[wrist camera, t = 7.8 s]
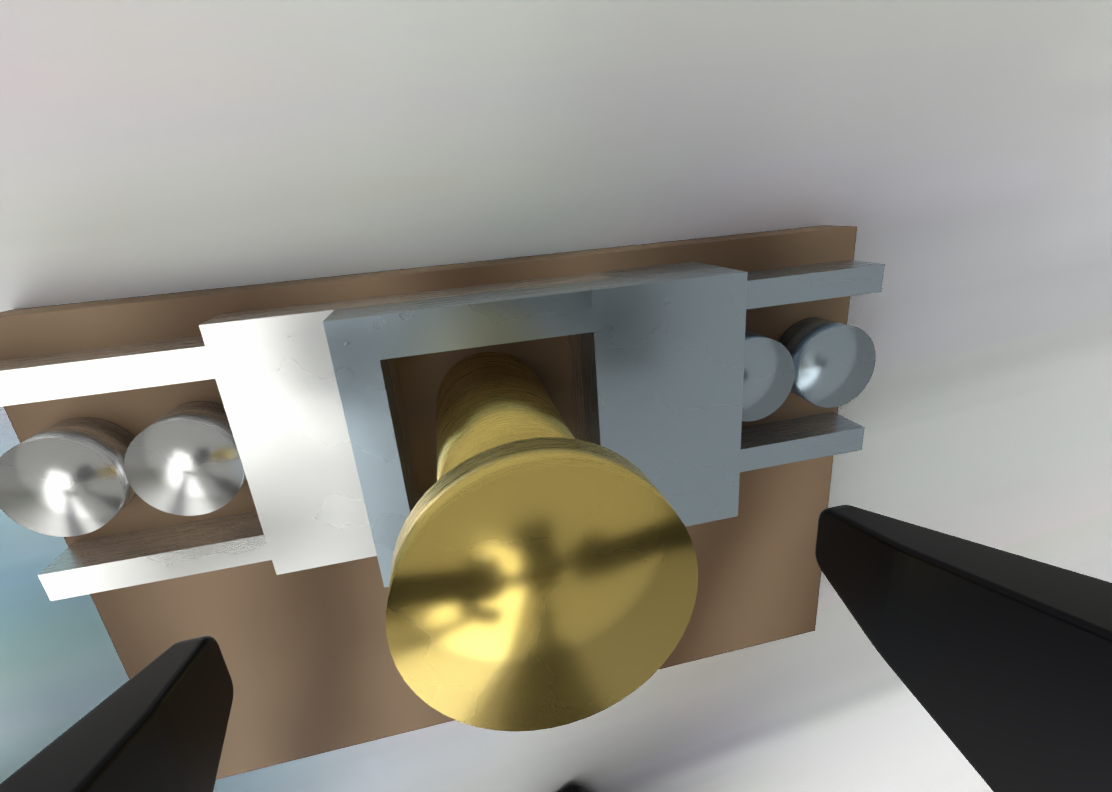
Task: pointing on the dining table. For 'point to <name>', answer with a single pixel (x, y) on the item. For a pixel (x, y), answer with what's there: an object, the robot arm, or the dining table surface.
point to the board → (356, 586)
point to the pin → (532, 563)
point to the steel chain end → (208, 449)
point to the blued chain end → (630, 374)
